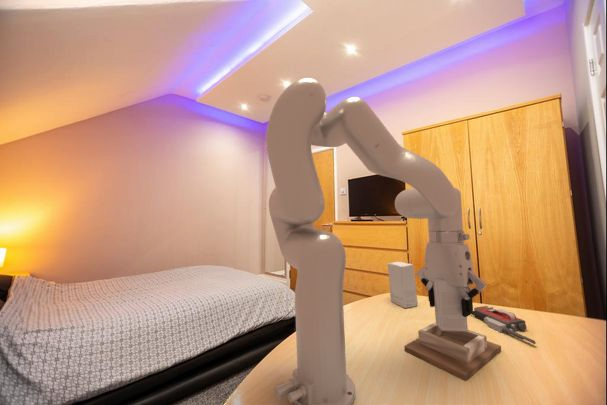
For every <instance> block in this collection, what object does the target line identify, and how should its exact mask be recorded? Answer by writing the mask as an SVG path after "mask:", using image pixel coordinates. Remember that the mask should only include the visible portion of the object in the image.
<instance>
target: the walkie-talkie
mask: <svg viewBox="0 0 607 405" xmlns="http://www.w3.org/2000/svg"><path fill="white" fill-rule="evenodd" d="M471 315H472V316H474V318H475V319H478V320H480V321H482V322H484V323H486V325H487V327H488V328H491V329H492V330H495V331H497V332H498V333H500V334H503V333H505V334H509V335H511V336H513V337H516V338H517V339H520V340H524V341H527V342H529V343H531V344H533V345H535V344H536V341H535V340H534V339H531V338H530V337H527V336H525V335H522V334H520V333H518V332H519V331H522V332H525V331H526V330H527V324H526V321H525V320H524V319H521V318H519V317H517V316H516V314H515V313H514V312H510V311H508V310H506V309H503V308H498V309H497V308H496V309H495V308H494V306H487V305H484V306H483V305H482V306H476V307H473V312H472V313H471Z"/></svg>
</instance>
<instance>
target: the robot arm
mask: <svg viewBox="0 0 607 405" xmlns="http://www.w3.org/2000/svg"><path fill="white" fill-rule="evenodd" d="M327 101H328V99H327V95H326V91H325V89H324V86H322V84H321V83H320V82H319V81H318V80H317V79H314V78H310V77H304V78H300V79H297V80H296V81H294V82H292V83H290V85H288V86H287V87H286V88H285V89H284V90H283V92H282V93H281V94H280V95H279V97H278V98H277V99H276V101H275V103H274V106H273V108H272V111H271V112H270V115H269V120H268V122H267V128H266V129H267V130H266V136H265V138H266V140H265V141H266V143H265V144H266V150H267V153H266V154H267V156H268V161H269V162H268V163H269V165H270V170H271V175H272V178H273V182H274V186H275V187H274V189H272V191H271V193H270V195H269V199H268V209H269V214H270V219H271V222H272V225H273V229H274V233H275V236H276V240H277V243H278V246H279V249H280V252H281V255H282V257H283V259H284V260H285V262H286V263H287V264H288V265H290V266H291V267H292V268H293V269H296V270H297V271H296V273H297V275H296V281H295V282H296V283H295V288H294V289H295V291H294V312H295V337H296V340H295V341H296V366H297V368H295V369H293V370H292V376H291V377H290V378H289V379H288V381H287V382H285V383H283V382H282V383H281V384H279V385H277V386H274V393H275V394H274V395H275V397H276V399H277V400H280V399H283V398H284V397H286V396H287V399H288V402H289V403H290V404H292V403H293V404H294V405H352V404H353V403H354V401H355V397H356V386H355V383H354V380H353V379H352V378H351V376H349V375H348V374H347V362H346V361H347V358H346V338H345V335H346V334H345V332H346V331H345V314H344V313H345V312H344V310H345V309H344V279H345V272H346V262H347V256H346V255H347V254H346V250H345V247H344V245H343V242H342V241H341V240H340V238H339V237H338V236H337V235H335V234H334V233H332V232H330V231H328V230H324V229H320V228H316V227H315V225H314V223H316V222H317V221H319V219H320V218H321V217H322V215H324V212H325V207H326V201H325V197H324V191H323V189H322V185H321V182H320V179H319V176H318V171H317V169H316V165H315V162H314V155H313V152H312V146H315V147H321V148H338V147H341V146H343V145H345V144H346V145H347V146H348V147H349V148H350V150H351V151H352V152H353V154H355V157H357V158H358V159H359V160H360V162H361V163H362V164H363V165H364V167H365V168H366V169H367V170H368V171H370V172H371V173H372V174H376V175H378V176H382V177H387V178H391V179H395V180H398V181H401V182H403V183H405V184H407V185H409V186H410V187H412V188H407V189H404V190H402V191H401V192H399V193H398V194H397V196H396V197H395V200H394V208H395V210H396V212H397V213H398V214H399V215H401V216H402V217H404V218H407V219H417V220H424V219H427V226H428V227H427V229H428V241H427V242H426V246H425V252H424V266H422V268H420V269H419V270H417V271H416V275H417V277H418V279H420V282H421V283H422V284H423V285H424V287H425V289H426V291H427V292H428V296H427V297H428V302H429V307H430V308H435V304H434V290H433V284H434V282H435V279H441V280H445V281H446V282H447V284H448V285H450V286H455V287H458V288H459V290H460V292H461V294H462V295H463V299H461V305H462V316H464V317H467V318H468V317H469V316H471V315H472V314H471V313H472V312H473V311H474V305H473V304H474V303H473V298H475V297H476V296H478V295H479V294H480V293H481V292H482V291H483V290H484V289H485V288H487V286H488V285H487V283H486V282H485V281H484V280H483V279H481V278H480V277H479V276H478V275H477V274H476V273H475V270H474V264H473V263H474V262H473V259H472V258H473V257H472V254H471V250H470V249H471V248H470V246H469V244H468V243H465V241H466V240H468V241H469V240H470V238H471V237H470V234H469V233H465V231H464V227H463V224H464V223H463V211H462V210H463V208H462V206H463V205H462V194H461V190H460V189H459V188H456V187H454V186H453V183H452V182H451V181H450V180H449V178H448V176H447V175H446V174H445V173H444V171H443V170H442V169H441V168H440V167H439V166H437V165H436V164H435V163H434V162H432V161H431V160H429V159H427V158H425V157H423V156H422V155H419V154H418V153H415V152H414V151H412V150H409V149H407V148H405V147H402V146H401V144H399V143H398V141H397V140H396V139H395V138H394V136H393V135H392V134H391V133H390V131H389V130H388V128H387V127H386V125H384V123H383V122H382V120H380V118H379V117H378V116H377V114H376V113H375V112H374V110H373V108H371V106H370V105H369V104H368V103H367V102H366V100H364V99H363V98H361V97H358V96H351V97H348V98H345V99H344V100H342V101H340V102H339V103H337V104H336V105H334V107H333V108H331V109H330V110H329V111H328V112H326V109H327V105H328V104H327ZM473 284H475V286H474V288H471V286H470V285H473Z"/></svg>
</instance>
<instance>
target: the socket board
mask: <svg viewBox="0 0 607 405" xmlns="http://www.w3.org/2000/svg"><path fill="white" fill-rule="evenodd" d="M417 335H418V338H416V339H414V340H413V341H411V342H409V343H407V344H405V345H404V346H403V348H404V352H407V353H408V354H410V355H413V356H414V357H417V358H418V359H420V360H422V361H425V362H427V363H429V364H431V365H432V366H434V367H437V368H439V369H441V370H443V371H445V372H448V373H449V374H451V375H453V376H455V377H456V378H457V377H458V378H460V379H461V380H463V381H466V382H467V381H468V380H469V379H471V377H473V376H474V375H475V374H476V373H477V372H478V371H479V370H481V369H482V368H483V367H484V366H485V365H487V364H488V363H489V362H490V361H491V360H493V358H495V357H496V356H497V355H498V354H499V353H500V352H502V346H501V345H500V344H497V343H494V342H491V341H489V340H487V335H485V334H481V333H479V332H476V331H473V330H470V329H468V331H442V330H440V328H439V327H438V325H437V324H436V321H434V322H433V323H431V324H429V325H427V326H425V327H423V328H421V329H419V330H418V331H417Z"/></svg>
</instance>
